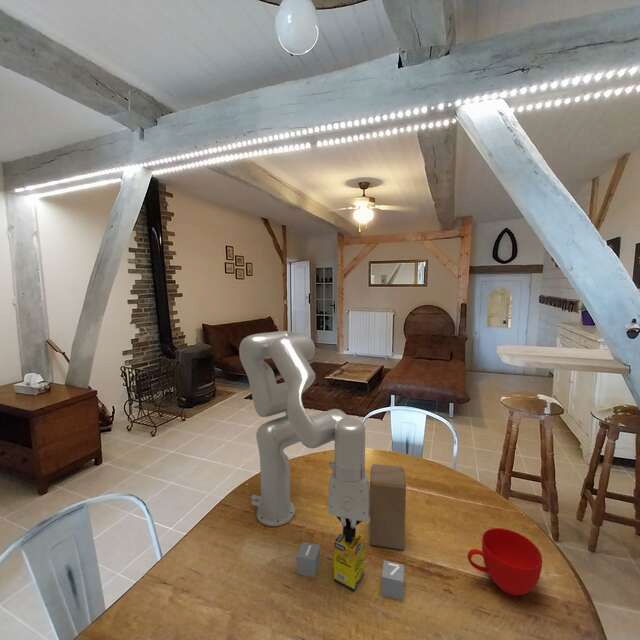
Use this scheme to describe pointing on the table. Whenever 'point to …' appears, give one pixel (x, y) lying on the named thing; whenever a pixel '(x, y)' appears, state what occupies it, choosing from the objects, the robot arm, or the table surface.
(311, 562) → the slate block
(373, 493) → the block
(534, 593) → the table surface
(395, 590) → the slate block
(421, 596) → the table surface
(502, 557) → the ceramic cup
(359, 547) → the supplement box
